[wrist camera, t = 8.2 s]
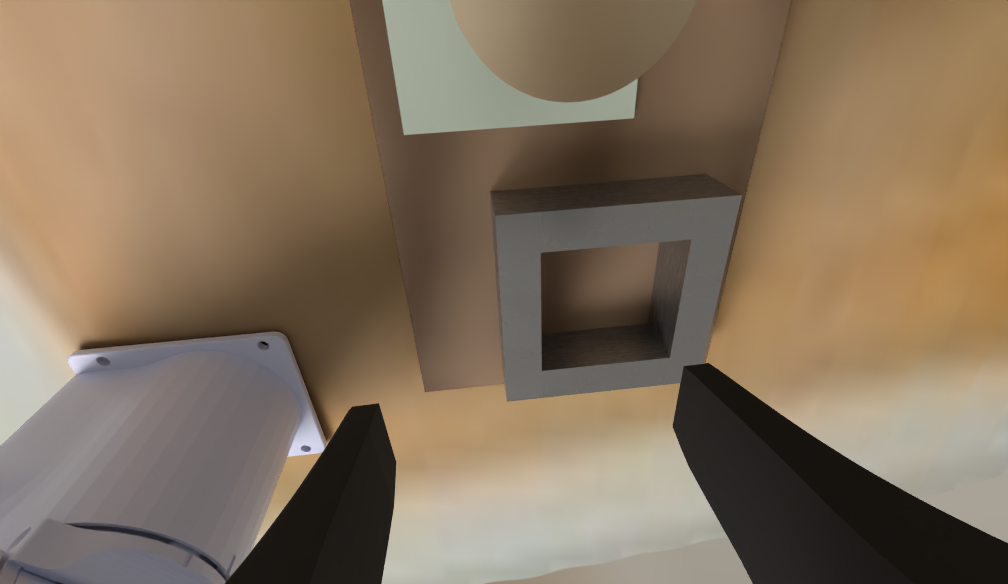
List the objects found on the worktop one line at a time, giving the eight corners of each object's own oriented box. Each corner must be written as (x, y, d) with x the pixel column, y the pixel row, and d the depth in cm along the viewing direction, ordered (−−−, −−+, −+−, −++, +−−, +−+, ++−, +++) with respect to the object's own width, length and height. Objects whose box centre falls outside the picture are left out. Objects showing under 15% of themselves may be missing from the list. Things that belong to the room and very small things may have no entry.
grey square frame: (501, 363, 21) (507, 401, 19) (489, 191, 17) (495, 215, 15) (674, 345, 22) (698, 381, 20) (706, 173, 17) (742, 195, 15)
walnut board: (426, 371, 23) (424, 392, 22) (316, -224, 12) (300, -253, 11) (691, 344, 24) (705, 362, 22) (815, -238, 13) (855, -267, 12)
